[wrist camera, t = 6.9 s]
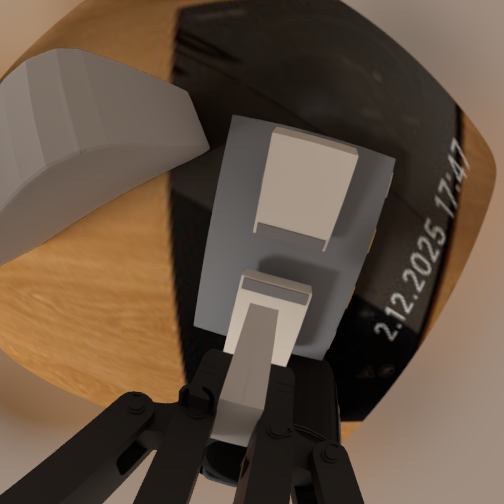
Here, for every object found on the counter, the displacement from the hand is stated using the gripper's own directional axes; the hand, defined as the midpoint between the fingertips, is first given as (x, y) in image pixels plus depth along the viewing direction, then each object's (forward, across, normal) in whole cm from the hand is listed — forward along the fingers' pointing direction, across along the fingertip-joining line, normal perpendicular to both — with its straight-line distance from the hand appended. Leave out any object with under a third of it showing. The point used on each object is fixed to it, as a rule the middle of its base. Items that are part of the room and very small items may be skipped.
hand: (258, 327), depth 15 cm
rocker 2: (+7, +1, +7) cm, 10 cm away
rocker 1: (+7, +1, -4) cm, 8 cm away
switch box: (+12, +1, +2) cm, 12 cm away
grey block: (+13, -20, +2) cm, 24 cm away
